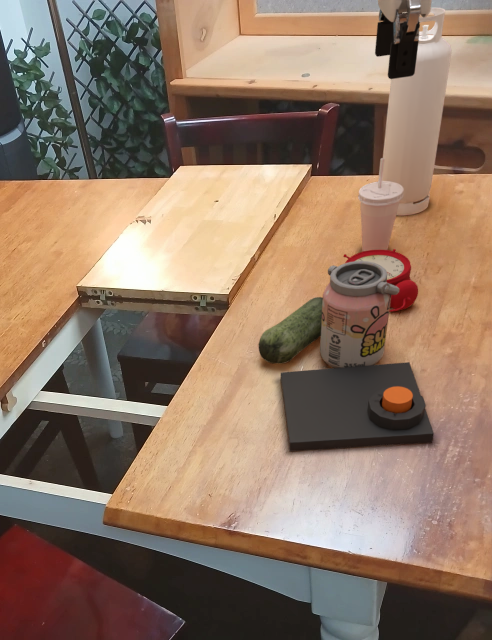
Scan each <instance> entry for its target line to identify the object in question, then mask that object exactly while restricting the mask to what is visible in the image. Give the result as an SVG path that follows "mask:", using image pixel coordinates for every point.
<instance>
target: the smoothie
mask: <svg viewBox="0 0 492 640" xmlns="http://www.w3.org/2000/svg"><path fill="white" fill-rule="evenodd" d="M384 159H385V158H383V157H381V158H380V161H379V168H378V170H379V171H378V172H379V173H378V181H372V182H370V183H369V182H368V183H366V184H364V185H363V186H361V187H360V188H359V190H358V195H357V199H358V201H359V204H360V208H359V209H360V225H361V229H360V230H361V249H362V250H361V252H363V251H368V250H389V246H390V241H391V237H392V235H393V230H394V227H395V222H396V218H397V215H396V214H397V210H398V206H399V202H400V200H401V199H402V197H403V190H404V189H403V187H402V186H401V185H400V184H398V183H395V182H390V181H382V178H383V169H384Z"/></svg>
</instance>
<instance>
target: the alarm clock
mask: <svg viewBox="0 0 492 640" xmlns="http://www.w3.org/2000/svg"><path fill="white" fill-rule="evenodd" d="M343 258H347V259H346V260H345V261H344V264H345V263H348V262H354V261H368V262H372V263H376V264H378V265H380V266H382V267H383V268H384V269H385V270H386V271H387V283H389V284H392V285H395V286H397V287H398V288H399V293H398V294H397V295H391V302H390V308H391V309H390V310H389V313H392V312H398V311H401V310H406V309H408V308H410V307H411V306H412V305H413V304H414V303H415V302H416V300H417V298H418V296H419V286H418V285H417V283H416V282H415V281H414V280H412V278H411V271H412V264H411V261H410V259H409V258H408V257H407V256H406V255H404V254H402V253H401V252H399V251H397V249H396V248H393V249H392V250H389V249H388V250H368V251H363V252H362V251H360V252H357V253H355V254H352V255H351V256H350V257H349V256H348V255H347V254H346V253H345V254H343Z"/></svg>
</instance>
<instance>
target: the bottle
mask: <svg viewBox="0 0 492 640" xmlns="http://www.w3.org/2000/svg"><path fill="white" fill-rule="evenodd" d="M430 13H432V14H433V15H430V16H427V17H422V16H419V22H420V23H426V22H433V21H434V25H433V26H432V28H431V29H429V26H430V24H423V25H422V30H421V31H419V42H418V50H417V58H416V66H415V73H414V75H413V76H410V77H402V78H395V79H390V85H389V91H388V92H389V93H388V103H387V112H386V122H385V123H386V124H385V132H384V143H383V150H382V151H383V152H382V158H385V159H384V169H383V178H382V181H390V182H395V183H398V184H400V185H401V186H402V187H403V189H404V190H403V197H402V199H401V200H400V202H399V206H398V210H397V214H396V216H411V215H415V214H419V213H421V212H423V211H425V210H426V209H427V208H428V207H429V203H430V198H431V193H430V192H431V189H432V184H433V177H434V171H435V170H434V169H435V164H436V157H437V151H438V144H439V137H440V132H441V131H440V130H441V125H442V119H443V111H444V104H445V97H446V92H447V91H446V90H447V84H448V78H449V71H450V65H451V58H452V53H453V52H452V51H453V50H452V45H451V44H450V43H449V42H448V41H447V40H446V39H445V38H443V37H442V36H443V29H444V22H445V16H446V9H445V8H442V7H432V6H431V10H430Z"/></svg>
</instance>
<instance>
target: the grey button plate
mask: <svg viewBox="0 0 492 640" xmlns="http://www.w3.org/2000/svg"><path fill="white" fill-rule="evenodd" d="M279 378H280V389H281V396H282V404H283V413H284V419H285V424H286V425H285V426H286V435H287V442H288V443H287V444H288V449H289V452H301V451H315V450H318V451H319V450H332V449H347V448H349V449H350V448H363V447H380V446H381V447H382V446H395V445H398V446H399V445H412V444H428V443H433V440H434V436H435V435H434V434H435V433H434V430H433V427H432V424H431V421H430V418H429V415H428V413H427V409H426V407H427V405H426V402H425V401H426V400H425V399H424V396H423V395H421V391H420V388H419V386H418V383H417V380H416V377H415V375H414V372H413V368H412V366H411V362H408V361H407V362H395V363H394V362H393V363H381V364H375V365H368V366H355V367H343V368H333V367H330V368H320V369H305V370H294V371H293V370H292V371H282V372H280V377H279ZM397 386H398V387H404V388H407V389H409V390H410V391H411V392H412V394H413V398H412V404H411V408H410V410H409V411H407V412H405V413H392V412H388V411H386V410H384V409H383V407H382V401H383V393H384V391H385V390H386V389H388V388H391V387H397Z"/></svg>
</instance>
